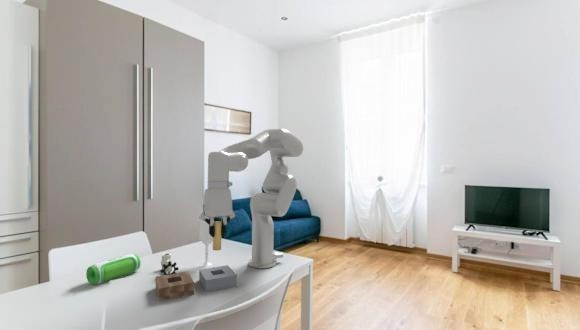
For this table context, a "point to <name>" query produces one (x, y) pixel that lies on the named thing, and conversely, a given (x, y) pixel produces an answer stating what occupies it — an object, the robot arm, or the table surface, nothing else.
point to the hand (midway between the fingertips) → (217, 235)
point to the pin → (217, 235)
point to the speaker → (112, 269)
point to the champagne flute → (205, 239)
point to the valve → (167, 264)
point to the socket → (217, 278)
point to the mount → (174, 285)
